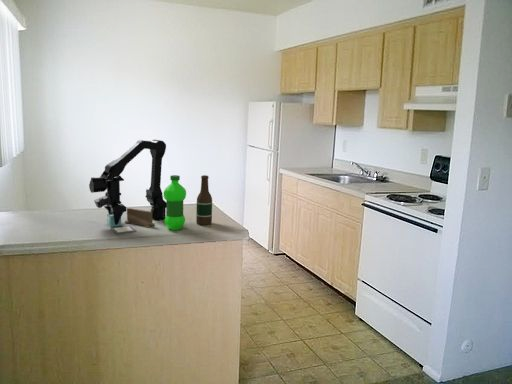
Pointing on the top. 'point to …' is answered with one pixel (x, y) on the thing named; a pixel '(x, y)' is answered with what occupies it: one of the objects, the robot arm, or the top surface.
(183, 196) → the plastic bottle
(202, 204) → the beer bottle
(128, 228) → the pad
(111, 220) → the letter cube
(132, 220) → the brown wooden block
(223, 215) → the top surface
